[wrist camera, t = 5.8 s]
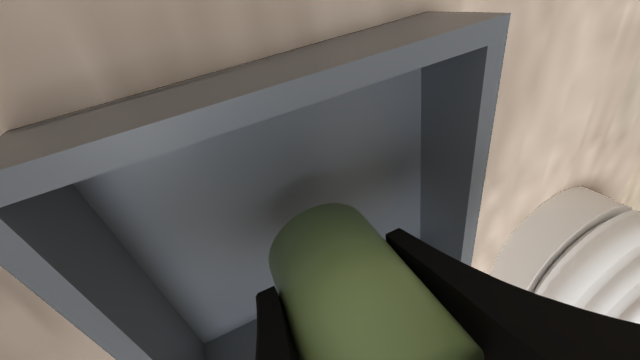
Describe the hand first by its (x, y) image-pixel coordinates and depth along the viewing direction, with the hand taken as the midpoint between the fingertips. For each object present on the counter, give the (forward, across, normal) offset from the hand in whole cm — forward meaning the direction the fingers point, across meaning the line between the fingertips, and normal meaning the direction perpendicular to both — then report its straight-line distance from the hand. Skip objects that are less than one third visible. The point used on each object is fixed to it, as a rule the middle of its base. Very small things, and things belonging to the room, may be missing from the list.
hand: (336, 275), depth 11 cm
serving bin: (+5, 0, 0) cm, 5 cm away
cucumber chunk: (+2, 0, 0) cm, 2 cm away
